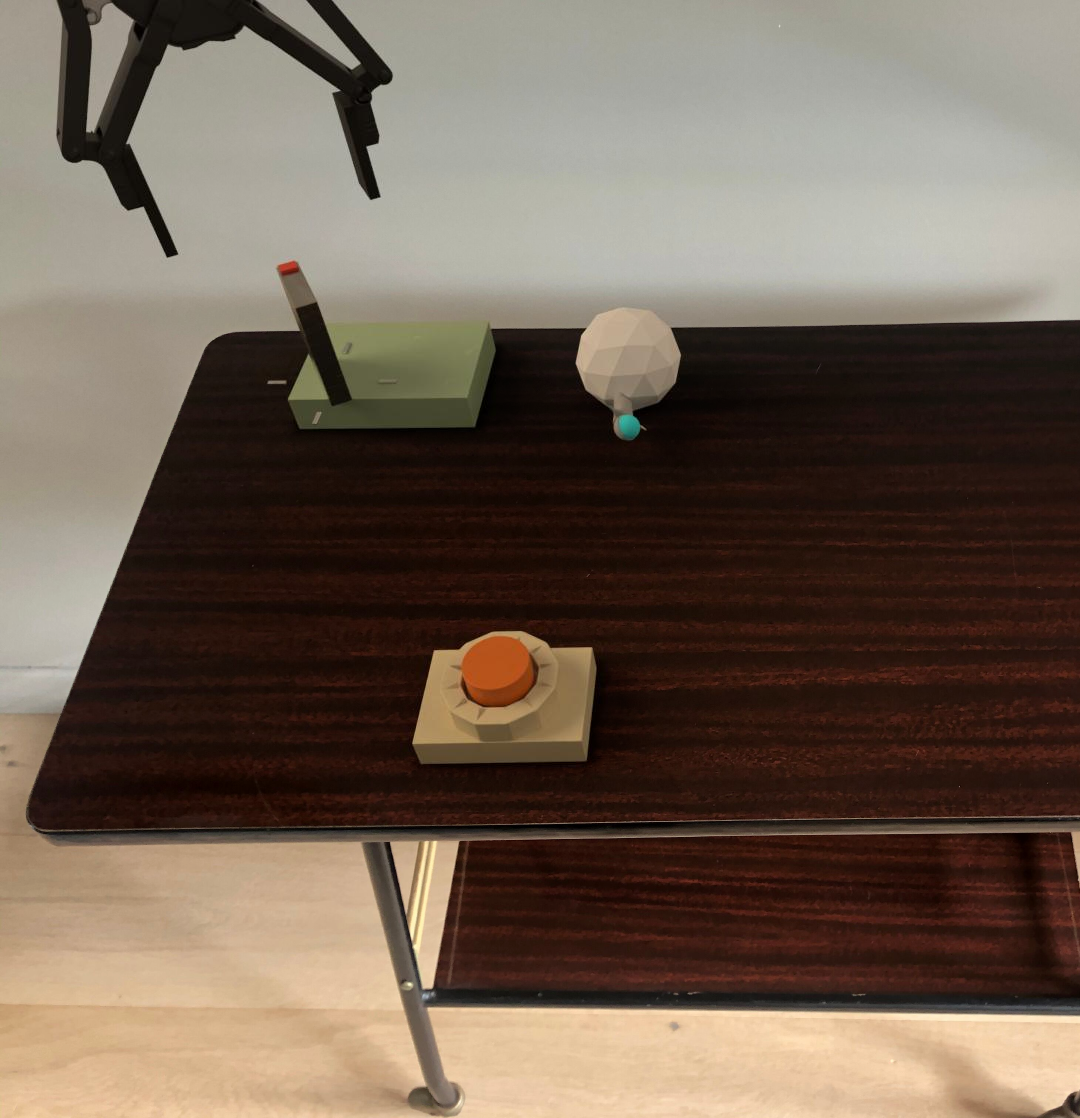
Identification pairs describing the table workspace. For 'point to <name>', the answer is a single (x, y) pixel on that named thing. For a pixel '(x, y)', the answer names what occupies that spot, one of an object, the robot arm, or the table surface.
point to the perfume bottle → (628, 363)
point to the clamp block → (400, 376)
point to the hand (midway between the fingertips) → (272, 218)
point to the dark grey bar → (314, 332)
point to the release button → (498, 671)
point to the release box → (509, 710)
